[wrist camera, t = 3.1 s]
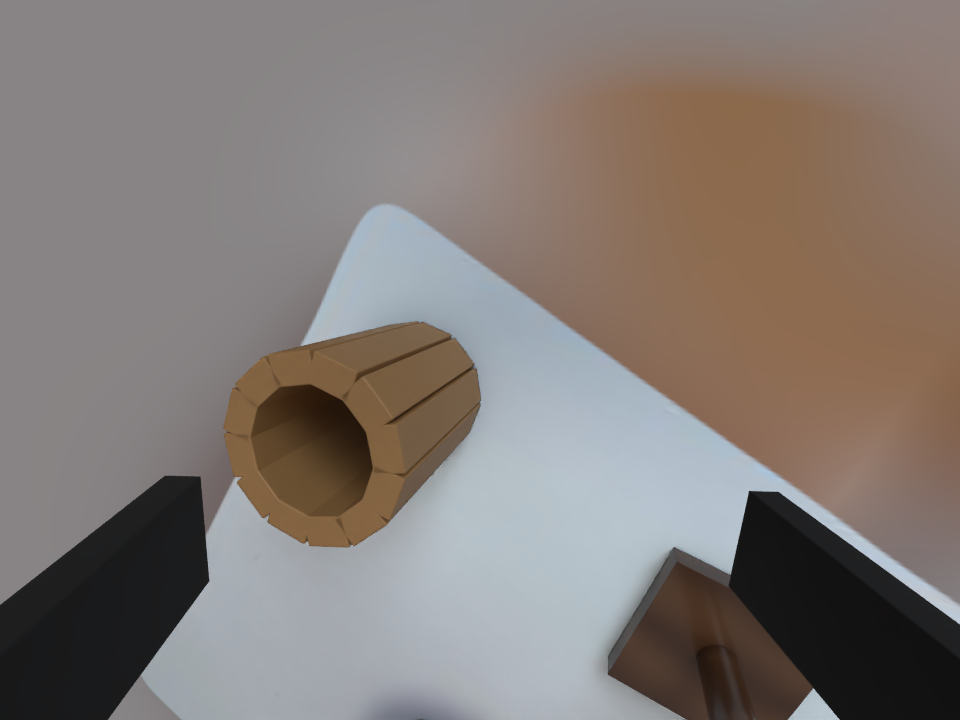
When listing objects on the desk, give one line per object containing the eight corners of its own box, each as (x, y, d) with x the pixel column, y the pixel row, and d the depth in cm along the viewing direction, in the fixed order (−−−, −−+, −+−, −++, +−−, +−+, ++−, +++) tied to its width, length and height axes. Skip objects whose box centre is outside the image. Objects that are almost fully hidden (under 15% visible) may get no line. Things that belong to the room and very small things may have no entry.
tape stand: (674, 547, 29) (704, 688, 19) (835, 627, 27) (960, 829, 17) (607, 656, 32) (604, 829, 22) (749, 736, 30) (815, 963, 20)
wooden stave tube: (377, 301, 32) (247, 317, 21) (500, 356, 30) (431, 408, 19) (341, 417, 35) (209, 489, 23) (452, 475, 33) (366, 582, 22)
